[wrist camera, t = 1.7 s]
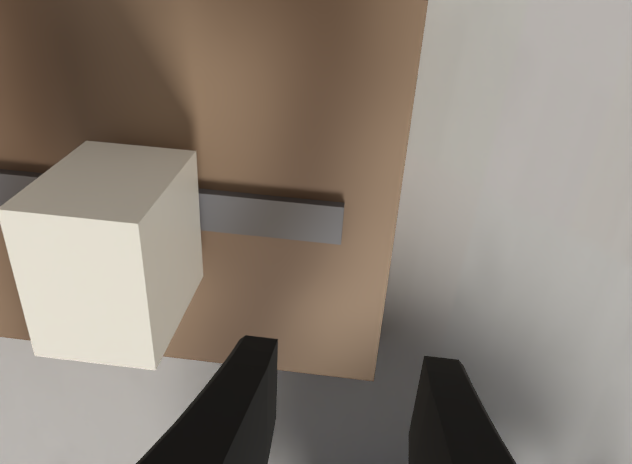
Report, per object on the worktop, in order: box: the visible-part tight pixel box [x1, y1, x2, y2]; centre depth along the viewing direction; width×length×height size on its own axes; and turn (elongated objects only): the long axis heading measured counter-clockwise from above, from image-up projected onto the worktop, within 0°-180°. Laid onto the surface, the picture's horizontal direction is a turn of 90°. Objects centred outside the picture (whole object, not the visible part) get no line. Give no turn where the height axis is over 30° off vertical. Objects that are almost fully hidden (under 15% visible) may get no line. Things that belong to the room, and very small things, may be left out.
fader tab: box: [0, 141, 203, 370], centre depth 14 cm, size 3×4×4 cm
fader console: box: [0, 0, 428, 381], centre depth 17 cm, size 22×12×2 cm, turn 87°
